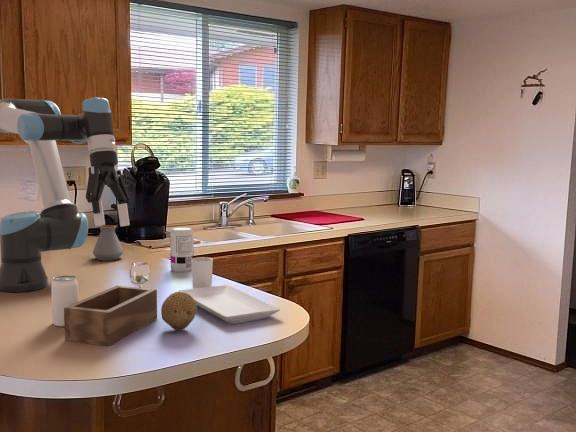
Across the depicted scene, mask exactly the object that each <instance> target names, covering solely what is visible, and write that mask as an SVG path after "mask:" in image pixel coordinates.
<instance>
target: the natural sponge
mask: <svg viewBox="0 0 576 432" xmlns="http://www.w3.org/2000/svg"><path fill="white" fill-rule="evenodd" d="M197 308H198V306H197V305H196V302H195V300H194V299H193V298H192V297H191V296H190V295H189V294H187V293H184V292H179V291H175V292H172V293H170V294H169V295H168V296H167V297H166V299H165V300H164V301H163V303H162V304H161V309H160V310H161V311H160V312H161V313H160V314H161V319H162V320H163V322H164V323H165V324H166V325H168V326H170V328H172V329H174V330H176V331H177V332H179V331H183V330H185V329H186V328H187V327H188V326H189V325H191V323H192V322H193V321H194V319H195V317H196V314H197Z"/></svg>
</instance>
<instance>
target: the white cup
mask: <svg viewBox="0 0 576 432" xmlns="http://www.w3.org/2000/svg"><path fill="white" fill-rule="evenodd" d="M191 262H192V270H191V278H192V289H195V288H203V287H213V268H214V267H213V266H214V265H213V262H214V258H211V257H202V256H201V257H194V258H193V259H192V260H191Z"/></svg>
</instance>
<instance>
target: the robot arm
mask: <svg viewBox="0 0 576 432" xmlns="http://www.w3.org/2000/svg"><path fill="white" fill-rule="evenodd" d="M0 133H3V134H15V135H16V134H17V135H18V136H19V137H20V139H21V140H23V142H24V143H26V144H28V146H29V149H30V154H31V158H32V162H33V167H34V171H35V175H36V179H37V184H38V188H39V192H40V196H41V202H42V206H43V208H42V209H41V211H40V212H39V211H35V210H29V211H20V212H15V213H11V214H8V215H7V214H6V215H5V216H3V217H2V218H1V219H0V259H1V260H0V262H1V264H0V292H5V293H24V292H32V291H37V290H40V289H45V288H46V287H48V285H49V278H48V276H47V273H46V271H45V267H44V265H43V263H42V253H44V252H52V251H61V250H71V249H76V248H80V247H83V245H84V244H85V242H86V241H87V238H88V233H89V221H88V217H87V215H86V214H85V213H84V212H81V211H79V210H78V207H77V205H76V204H75V203H74V202H71V197H70V195H69V190H68V189H69V188H68V186H67V182H66V177H65V172H64V169H63V165H62V161H61V158H60V153H59V148H58V146H57V141H58V142H59V141H63V142H64V141H66V142H67V141H68V142H69V141H70V142H72V143H73V144H76V145H77V144H78V145H79V144H80V145H81V144H84V143H87V148H88V153H89V161H90V167H88V178H87V185H86V193H85V199H86V201H87V203H89V204H90V203H91V206H92V212H93V218H94V220H93V221H94V222H93V223H94V227H99V226H101V225H106V219H105V214H104V212H105V211H104V205H103V200H101V198H102V195H103V191H104V189H105V186H106V187H108V188H110V190H111V192H112V194H113V196H114V198H115V199H116V202H117V203H118V204H117V212H118V219H119V226H120V227H121V228H122V227H127V226H128V227H129V226H130V225H131V224H130V217H129V211H128V208H129V207H128V204H130V203H131V196H130V194H129V192H128V189H127V186H126V184H125V181H124V179H123V175H122V170H120V169H119V170H116V168H115V166H117V165H118V163H119V160H118V154H117V151H116V149H117V148H116V139H115V134H114V133H115V132H114V125H113V116H112V110H111V107H110V102H109V100H108V99H107V98H104V97H90V98H86V99H84V100H83V101H82V113H81V114H76V115H75V114H62V113H61V111H60V108H59V107H58V105H57V104H56V103H55V102H53V101H51V100H45V99H26V98H22V99H21V98H2V99H1V98H0Z"/></svg>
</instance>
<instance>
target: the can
mask: <svg viewBox="0 0 576 432" xmlns="http://www.w3.org/2000/svg"><path fill="white" fill-rule="evenodd" d="M50 288H51V289H50V290H51V295H50V296H51V317H52V325H53V326H55V327H60V328H61V327H62V328H65V326H64V307H67V306H69V305H72V304H74V303H76V302H79V282H78V281H77V277H76V276H75V275H59V276H55V277H53V278H52V282H51V286H50Z"/></svg>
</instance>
